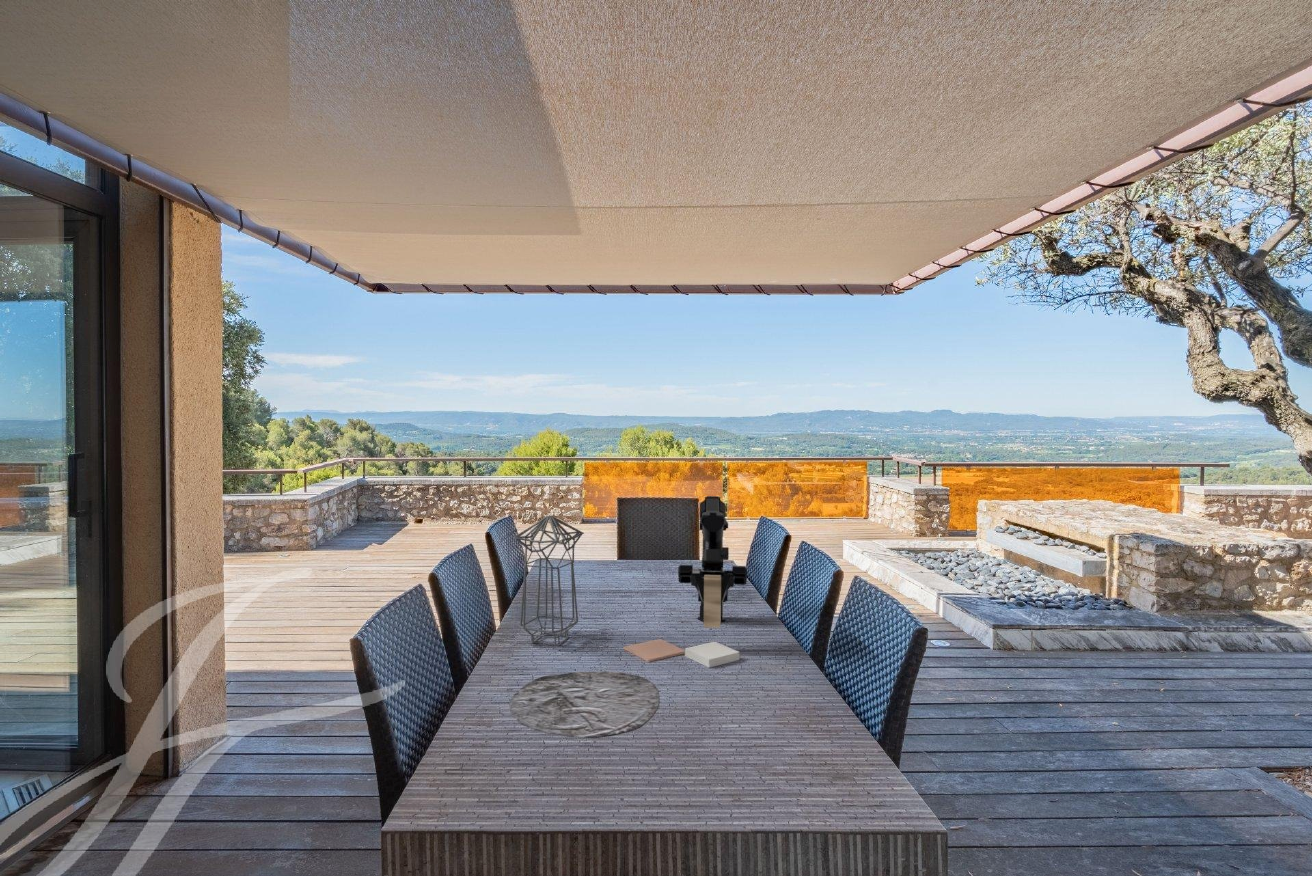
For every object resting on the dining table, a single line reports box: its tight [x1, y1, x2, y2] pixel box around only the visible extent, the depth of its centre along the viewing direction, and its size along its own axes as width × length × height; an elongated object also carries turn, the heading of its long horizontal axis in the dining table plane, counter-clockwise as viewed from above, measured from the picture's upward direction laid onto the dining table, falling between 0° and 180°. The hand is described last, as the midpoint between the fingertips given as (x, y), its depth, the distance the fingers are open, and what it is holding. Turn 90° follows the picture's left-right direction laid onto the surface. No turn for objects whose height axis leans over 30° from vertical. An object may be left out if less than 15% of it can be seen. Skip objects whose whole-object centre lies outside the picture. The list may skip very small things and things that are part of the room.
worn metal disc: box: [509, 670, 660, 739], centre depth 149 cm, size 33×35×1 cm
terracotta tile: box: [623, 638, 685, 663], centre depth 182 cm, size 12×12×1 cm
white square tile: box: [684, 641, 740, 668], centre depth 177 cm, size 10×10×2 cm
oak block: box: [703, 575, 722, 629], centre depth 183 cm, size 4×4×13 cm
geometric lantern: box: [513, 515, 585, 646], centre depth 190 cm, size 16×16×35 cm
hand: (712, 602), depth 182 cm, fingers closed on oak block, 4 cm apart
